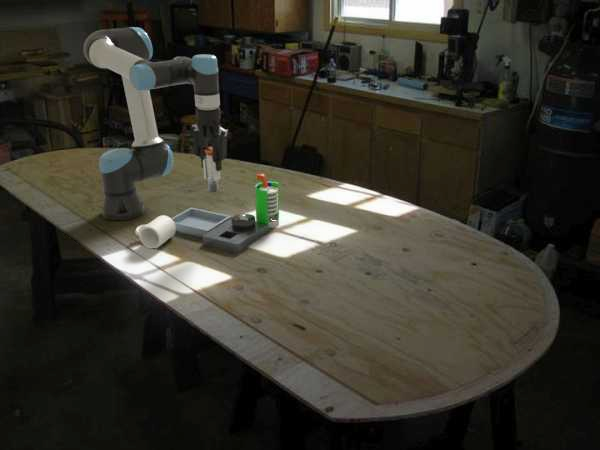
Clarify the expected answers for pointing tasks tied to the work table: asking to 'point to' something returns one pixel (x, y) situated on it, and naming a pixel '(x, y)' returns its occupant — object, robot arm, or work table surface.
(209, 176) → the pin
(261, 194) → the green-shelled ribbed roller
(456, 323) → the work table surface
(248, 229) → the grey block with dome
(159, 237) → the mug
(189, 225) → the tray
